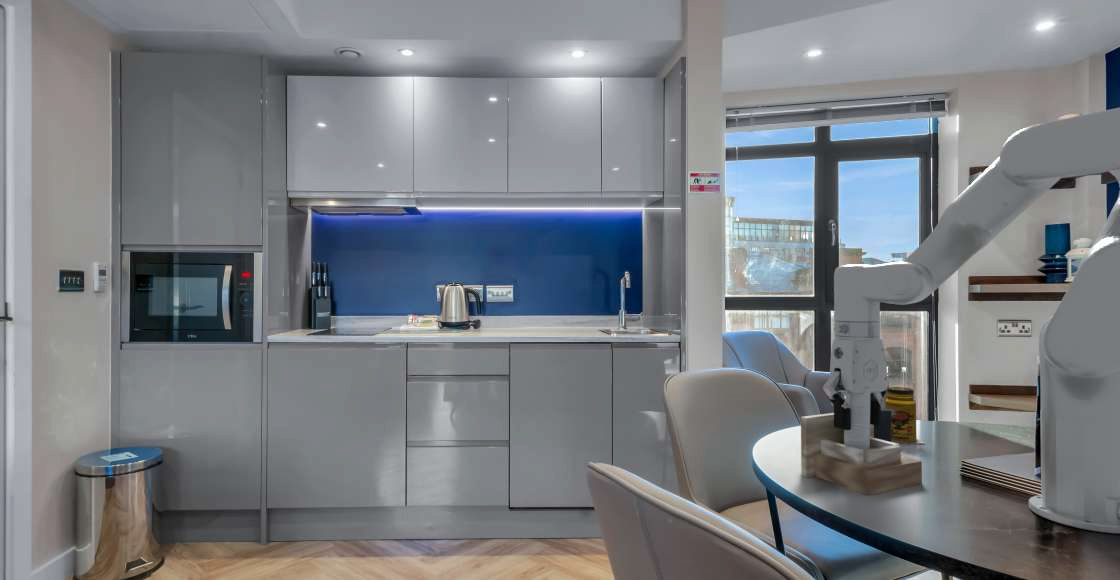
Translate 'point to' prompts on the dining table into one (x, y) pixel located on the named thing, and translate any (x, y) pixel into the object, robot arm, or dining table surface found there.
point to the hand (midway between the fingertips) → (857, 425)
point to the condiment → (902, 415)
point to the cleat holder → (854, 459)
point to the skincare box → (859, 421)
